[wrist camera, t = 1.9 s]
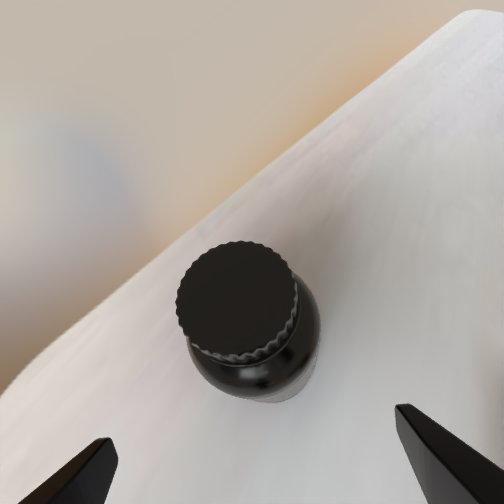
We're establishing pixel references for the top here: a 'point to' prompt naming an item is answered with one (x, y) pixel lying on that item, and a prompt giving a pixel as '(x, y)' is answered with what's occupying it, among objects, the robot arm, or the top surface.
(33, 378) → the top surface
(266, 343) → the supplement bottle
